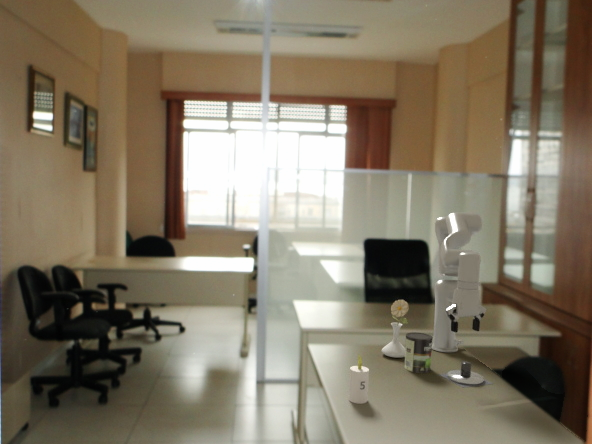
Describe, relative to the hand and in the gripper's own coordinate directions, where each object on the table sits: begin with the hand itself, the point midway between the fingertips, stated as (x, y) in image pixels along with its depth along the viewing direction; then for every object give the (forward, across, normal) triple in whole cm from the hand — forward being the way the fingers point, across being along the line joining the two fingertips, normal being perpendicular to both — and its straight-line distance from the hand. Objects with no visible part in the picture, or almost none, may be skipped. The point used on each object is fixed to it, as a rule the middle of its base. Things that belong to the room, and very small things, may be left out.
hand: (465, 331), depth 196 cm
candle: (+20, +46, +6) cm, 51 cm away
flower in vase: (+19, +9, -32) cm, 39 cm away
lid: (+18, -1, 0) cm, 18 cm away
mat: (+19, -1, 0) cm, 19 cm away
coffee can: (+19, +10, -14) cm, 26 cm away
